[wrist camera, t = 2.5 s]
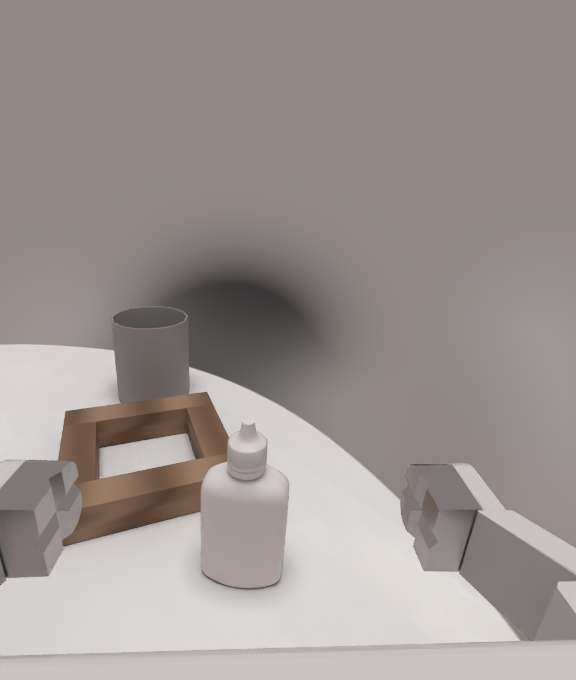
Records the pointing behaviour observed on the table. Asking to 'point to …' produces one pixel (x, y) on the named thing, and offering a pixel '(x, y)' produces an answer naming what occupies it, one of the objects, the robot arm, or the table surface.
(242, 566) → the eye dropper bottle
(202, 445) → the socket block
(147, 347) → the cup
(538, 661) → the robot arm
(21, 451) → the table surface
